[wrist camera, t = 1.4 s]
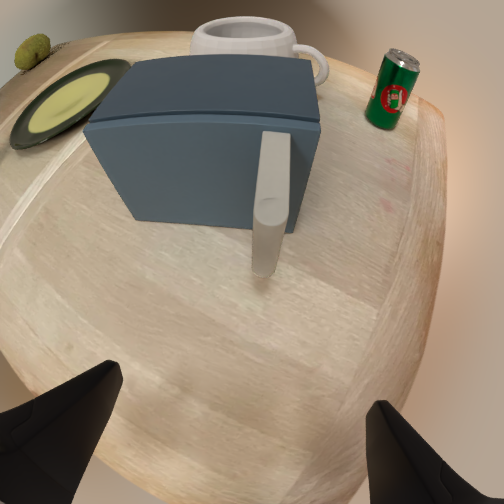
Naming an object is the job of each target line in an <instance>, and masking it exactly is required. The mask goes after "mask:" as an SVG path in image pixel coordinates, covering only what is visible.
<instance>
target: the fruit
mask: <svg viewBox="0 0 504 504" xmlns="http://www.w3.org/2000/svg"><path fill="white" fill-rule="evenodd" d="M50 46H51V45H50V39H49V38H48V37H47V36H46V35H44V34H37V35H33V36H31V37H30V38H28V39H26V40H25V41H24V42H23V43H22V44H21V45H20V46H19V48H18V49H17V51H16V53H15V60H14V61H15V65H16V67H17V68H19V69H21V70H28V69H30V68H32V67H34V66H35V65H36V64H37V63H38V62H40V61H41V60H43V59H44V58H45V57H46V56H47V55H48V54H49V52H50V48H51V47H50Z"/></svg>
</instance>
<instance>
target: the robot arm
mask: <svg viewBox="0 0 504 504" xmlns="http://www.w3.org/2000/svg"><path fill="white" fill-rule="evenodd" d="M122 383H123V376H122V372H121V369H120V365H119V364H118V363H117V362H115V361H112V360H106V361H104V362H102V363H100V364H99V365H97V366H95V367H93V368H91V369H89V370H87V371H86V372H84V373H82V374H80V375H78V376H76V377H74V378H72V379H71V380H69V381H67V382H65V383H63V384H61V385H59V386H57V387H55V388H53V389H52V390H50V391H48V392H46V393H44V394H42V395H40V396H38V397H36V398H35V399H32V400H30V401H28V402H26V403H24V404H22V405H20V406H18V407H15V408H13V409H10V410H8V411H5V412H2V413H0V504H71V503H72V500H73V498H74V495H75V493H76V490H77V488H78V486H79V483H80V481H81V479H82V476H83V474H84V472H85V470H86V467H87V465H88V463H89V461H90V458H91V456H92V454H93V452H94V450H95V448H96V446H97V443H98V441H99V439H100V437H101V435H102V433H103V431H104V429H105V427H106V425H107V423H108V421H109V418H110V416H111V414H112V411H113V408H114V405H115V403H116V400H117V397H118V394H119V391H120V389H121V386H122ZM366 458H367V468H368V478H369V490H370V504H504V499H501V498H490V497H487V496H485V495H483V494H481V493H480V492H479V491H478V490H476V489H475V488H474V487H473V486H471V485H470V484H469V483H468V482H466V481H465V480H464V479H463V478H462V477H460V476H459V475H458V474H457V473H456V472H455V471H454V470H453V469H452V468H451V467H450V466H449V465H448V464H447V463H446V462H445V461H444V460H443V459H442V458H441V457H440V456H439V455H438V454H437V453H436V452H435V450H434V449H433V448H432V447H431V446H430V445H429V444H428V443H427V442H426V441H425V440H424V439H423V438H422V437H421V436H420V435H419V434H418V433H417V432H416V430H414V429H413V427H412V426H411V425H410V424H409V423H408V422H407V421H406V420H405V419H404V418H403V417H402V416H401V415H400V414H399V412H398V411H397V410H396V409H395V408H394V407H393V406H392V405H391V404H390V403H389V402H388V401H387V400H377V401H375V402H374V404H373V405H372V407H371V408H370V410H369V411H368V413H367V415H366Z"/></svg>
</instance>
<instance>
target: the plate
mask: <svg viewBox="0 0 504 504" xmlns="http://www.w3.org/2000/svg"><path fill="white" fill-rule="evenodd" d="M130 68H131V65H130V64H129V62H127V61H125V60H122V59H108V60H102V61H98V62H95V63H92V64H89V65H86V66H84V67H81V68H79V69H77V70H75V71H73V72H71V73H69V74H67V75H66V76H64V77H62V78H61V79H59V80H58V81H56V82H55V83H53V84H52V85H50V86H49V87H48V88H46V89H45V90H44V91H43V92H42V93H40V94H39V95H38V96H37V97H36V98H35V99H34V100H33V101H32V102H31V103H30V104H29V105H28V106H27V107H26V109H25V110H24V111H23V112H22V114H21V115H20V116H19V118H18V119H17V121H16V123H15V124H14V127H13V129H12V131H11V134H10V145H11V147H12V148H13V149H15V150H19V149H26V148H29V147H32V146H35V145H37V144H40V143H42V142H44V141H46V140H48V139H50V138H51V137H53V136H55V135H57V134H59V133H60V132H62V131H64V130H65V129H67V128H69V127H70V126H72V125H73V124H75V123H76V122H78V121H79V120H81V119H82V118H84V117H85V116H86V115H88V114H89V113H90V112H92V111H93V110H94V109H96V108H97V107H98V106H99V105H100V103H101V102H102V101H103V100H104V98H105V97H106V96H107V95H108V93H109V92H110V91H111V90H112V88H113V87H114V86H115V85H116V84H117V83H118V81H119V80H120V79H121V78H122V77H123V76H124V75H125V73H126V72H127V71H128V70H129V69H130Z"/></svg>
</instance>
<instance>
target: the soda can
mask: <svg viewBox="0 0 504 504" xmlns="http://www.w3.org/2000/svg"><path fill="white" fill-rule="evenodd" d="M419 65H420V63H419V61H418V60H416V59H415V58H414V57H412V56H411V55H409V54H407V53H405V52H403V51H400V50H397V49H389V52H387V53H386V54H385V55H384V58H383V61H382V64H381V67H380V70H379V74H378V76H377V79H376V82H375V85H374V88H373V91H372V94H371V97H370V100H369V102H368V105H367V108H366V111H365V113H366V116H367V118H368V120H369V121H370V122H371V123H372V124H374V125H375V126H377V127H379V128H382V129H392V128H394V127H395V126H396V124H397V122H398V120H399V118H400V116H401V114H402V112H403V109H404V107H405V105H406V103H407V101H408V98H409V96H410V94H411V91H412V89H413V87H414V84H415V82H416V80H417V77H418V75H419V73H420V69H419Z"/></svg>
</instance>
